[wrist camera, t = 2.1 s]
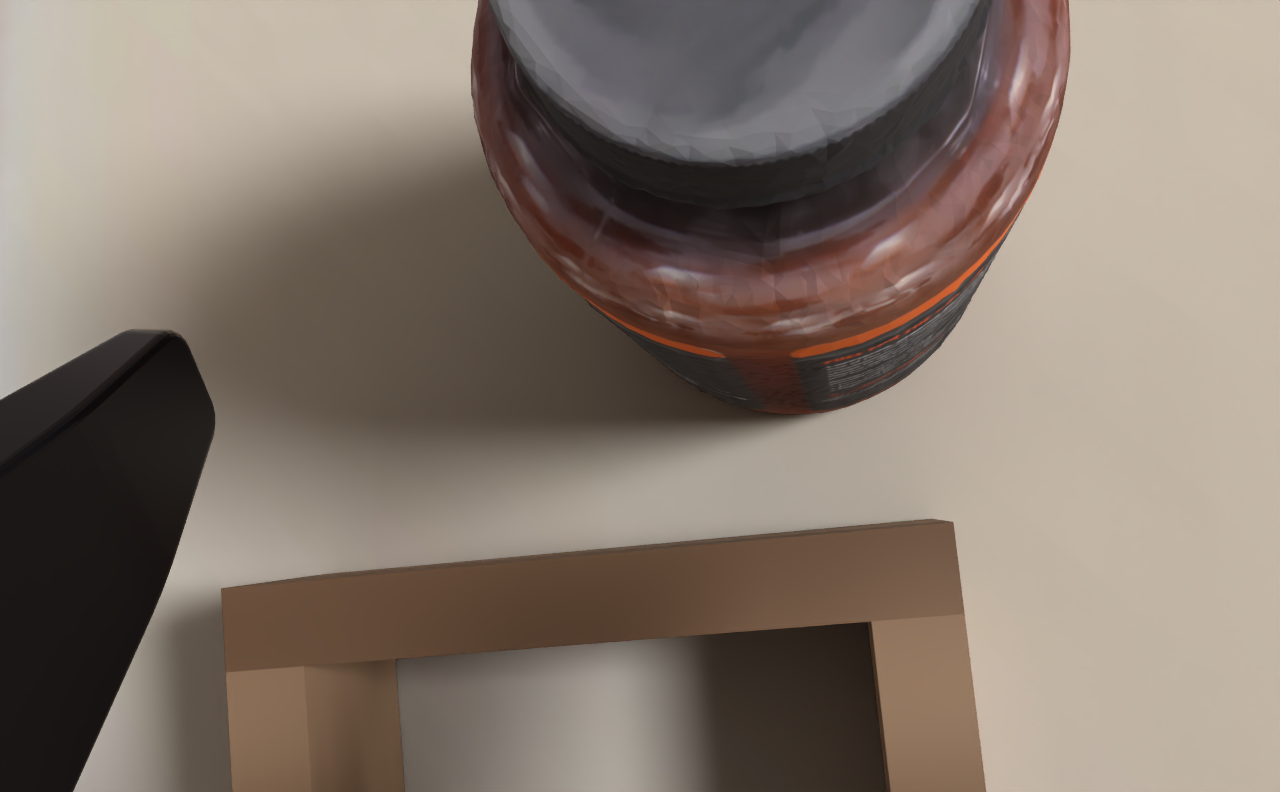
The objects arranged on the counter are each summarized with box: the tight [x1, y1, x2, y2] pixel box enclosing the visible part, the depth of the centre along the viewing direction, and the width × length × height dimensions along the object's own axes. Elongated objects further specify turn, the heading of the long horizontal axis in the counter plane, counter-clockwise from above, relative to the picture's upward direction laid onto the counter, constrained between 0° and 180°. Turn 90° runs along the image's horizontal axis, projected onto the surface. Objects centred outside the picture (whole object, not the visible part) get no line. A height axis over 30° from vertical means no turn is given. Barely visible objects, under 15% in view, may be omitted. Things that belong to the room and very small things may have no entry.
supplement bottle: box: [471, 0, 1070, 414], centre depth 14 cm, size 6×6×11 cm
